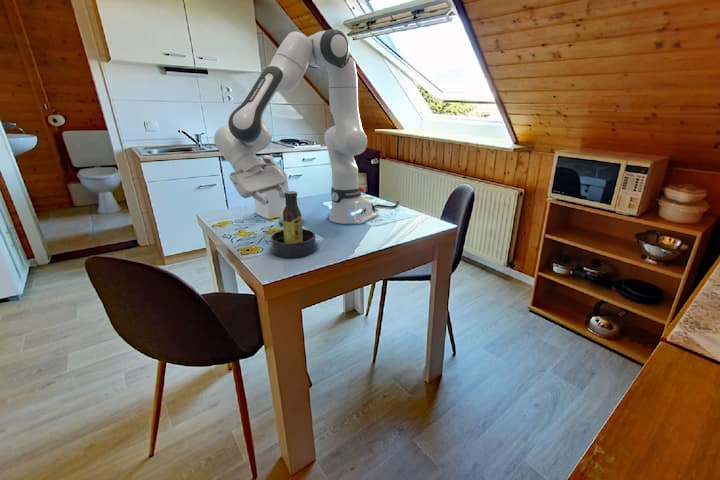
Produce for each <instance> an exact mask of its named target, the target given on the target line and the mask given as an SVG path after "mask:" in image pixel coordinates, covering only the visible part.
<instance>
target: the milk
mask: <svg viewBox="0 0 720 480" xmlns="http://www.w3.org/2000/svg"><path fill="white" fill-rule="evenodd" d="M262 158H267V159H271V160H272V161H273V164H272V165H274V166H276V167H277V168H278V169H279V170H280V172H281V173H282V174H283V175H284V177H285V178H286V183H285V184H284V185H283V189H284V192H287V191H290V190H289V182H288V176H287V172H286V171H285V170H284V169H282V167H280V166H279V164H278V163H276V161H275V157H274V156H272V155H268V154H263V157H262ZM259 195H261V196H262V197H264V198H265V197H266V198H267V200H268V201H269V202H268V203H267V204H266V205H262V203H261V202H260V201H258V200H256V199H254V208H255V214H256V215H258V216H261V217H263V218H265V219H266V220H272V219H276V218H280V217H281V216H282V215H283V211H284V208H285V207H286V200H285V198H282V199H281V198H280V196H279V191H277V190H276V189H274V190H271V191H267V192H264V193H261V194H259Z"/></svg>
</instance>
